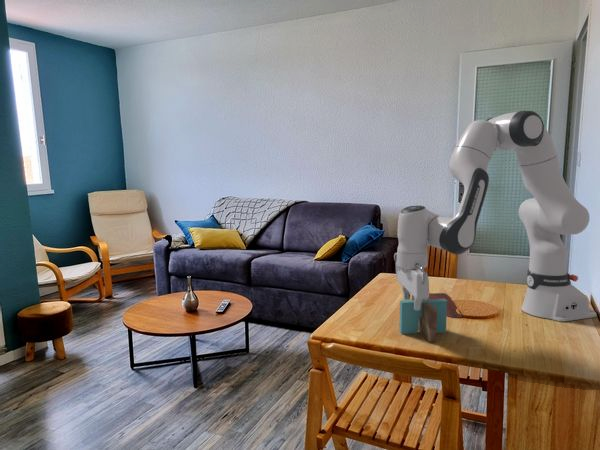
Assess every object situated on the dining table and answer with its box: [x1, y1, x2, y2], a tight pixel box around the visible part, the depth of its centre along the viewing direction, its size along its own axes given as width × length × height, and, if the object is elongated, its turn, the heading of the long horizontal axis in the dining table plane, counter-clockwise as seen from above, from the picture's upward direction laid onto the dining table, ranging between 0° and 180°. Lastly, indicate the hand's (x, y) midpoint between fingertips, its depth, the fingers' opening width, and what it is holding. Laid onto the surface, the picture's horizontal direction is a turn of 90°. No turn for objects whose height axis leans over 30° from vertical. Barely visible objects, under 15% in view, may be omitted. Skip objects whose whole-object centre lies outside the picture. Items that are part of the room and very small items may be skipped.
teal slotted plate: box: [398, 299, 448, 335], centre depth 132 cm, size 14×2×10 cm, turn 94°
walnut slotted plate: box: [411, 294, 437, 344], centre depth 132 cm, size 2×16×10 cm, turn 4°
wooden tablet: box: [428, 292, 464, 319], centre depth 156 cm, size 27×10×2 cm, turn 171°
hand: (411, 304), depth 131 cm, fingers open, 8 cm apart
